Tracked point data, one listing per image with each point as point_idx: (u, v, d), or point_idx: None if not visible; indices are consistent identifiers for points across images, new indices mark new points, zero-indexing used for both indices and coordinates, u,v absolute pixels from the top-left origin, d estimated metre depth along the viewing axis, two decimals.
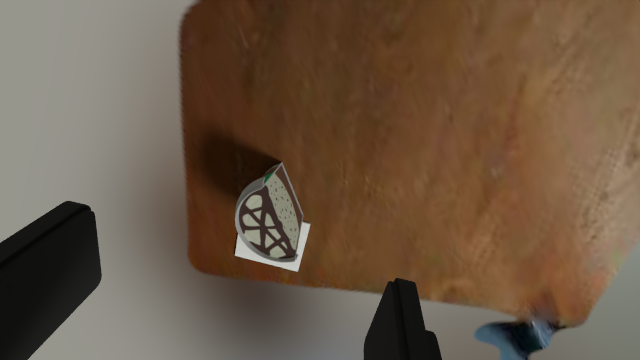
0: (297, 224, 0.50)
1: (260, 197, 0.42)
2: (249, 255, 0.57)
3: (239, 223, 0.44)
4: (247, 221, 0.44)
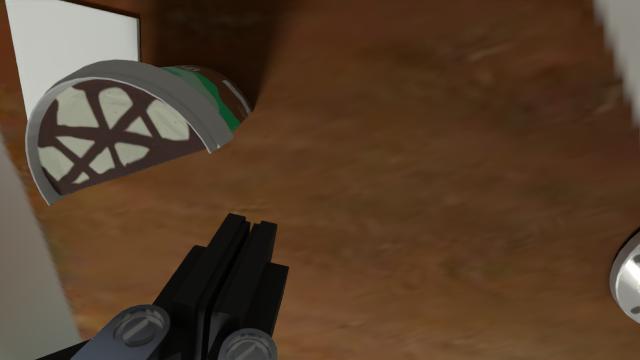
0: None
1: (184, 137, 0.18)
2: (20, 26, 0.26)
3: (98, 79, 0.17)
4: (111, 97, 0.18)
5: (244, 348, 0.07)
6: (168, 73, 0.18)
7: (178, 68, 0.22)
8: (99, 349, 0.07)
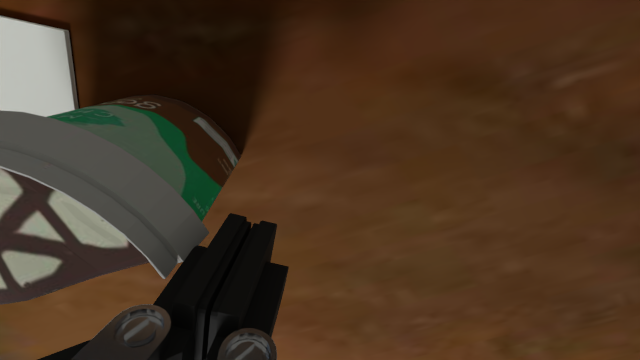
0: None
1: (120, 243, 0.10)
2: None
3: None
4: None
5: (243, 348, 0.07)
6: (86, 134, 0.10)
7: (123, 107, 0.15)
8: (100, 349, 0.07)
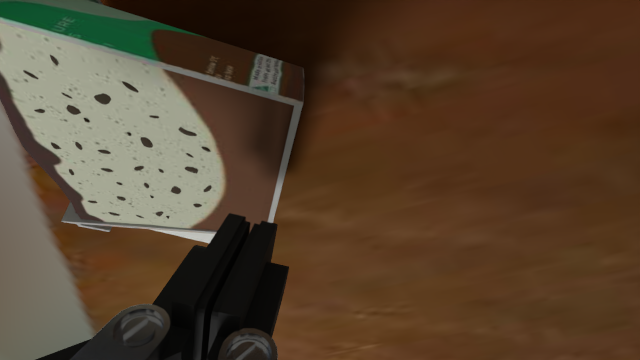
0: (194, 220, 0.16)
1: None
2: None
3: None
4: None
5: (244, 348, 0.07)
6: None
7: None
8: (99, 349, 0.07)
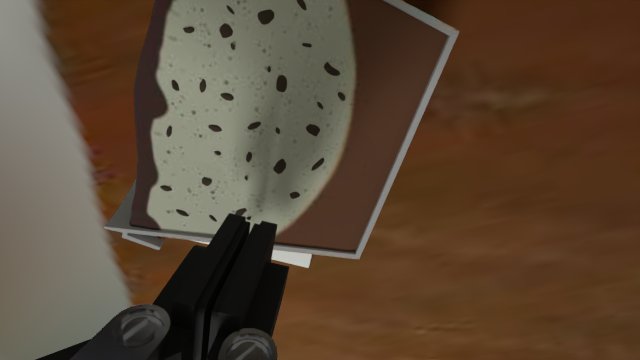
0: (279, 226, 0.14)
1: None
2: None
3: None
4: None
5: (244, 348, 0.07)
6: None
7: None
8: (99, 349, 0.07)
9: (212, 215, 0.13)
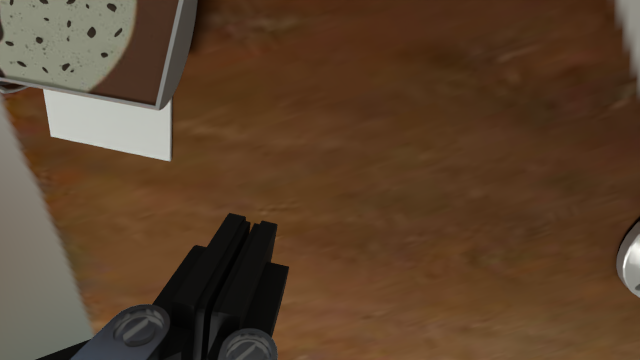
0: (95, 79, 0.20)
1: None
2: None
3: None
4: None
5: (244, 348, 0.07)
6: None
7: None
8: (99, 349, 0.07)
9: (44, 67, 0.19)
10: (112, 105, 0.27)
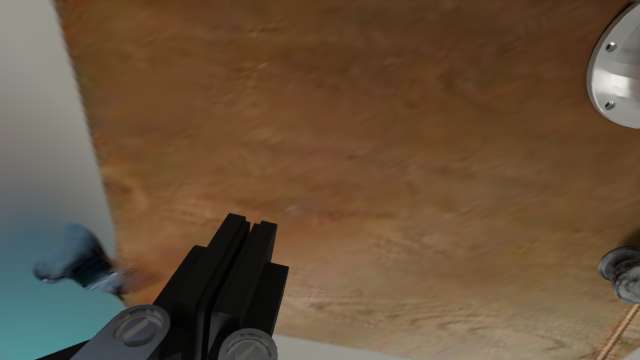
0: None
1: None
2: None
3: None
4: None
5: (244, 348, 0.07)
6: None
7: None
8: (99, 349, 0.07)
9: None
10: None
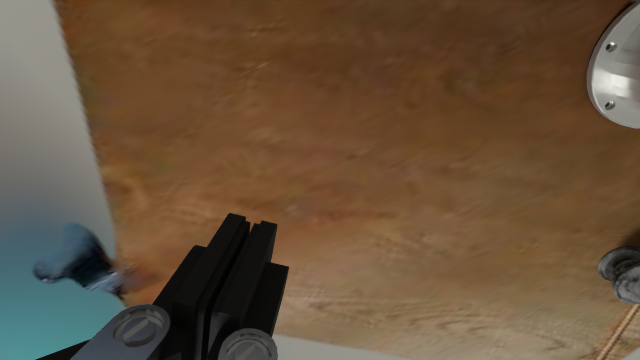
0: None
1: None
2: None
3: None
4: None
5: (244, 348, 0.07)
6: None
7: None
8: (99, 349, 0.07)
9: None
10: None
